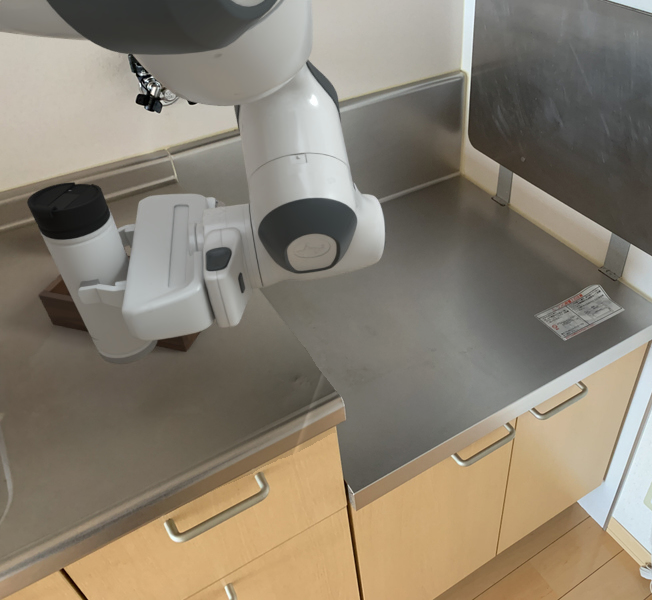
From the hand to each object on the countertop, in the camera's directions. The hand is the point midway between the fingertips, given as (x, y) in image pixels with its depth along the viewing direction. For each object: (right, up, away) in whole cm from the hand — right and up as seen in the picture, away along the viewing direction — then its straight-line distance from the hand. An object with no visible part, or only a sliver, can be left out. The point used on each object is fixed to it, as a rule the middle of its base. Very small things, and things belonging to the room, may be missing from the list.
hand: (86, 269), depth 61 cm
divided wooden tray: (-6, -5, +28) cm, 29 cm away
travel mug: (+1, -8, +8) cm, 11 cm away
